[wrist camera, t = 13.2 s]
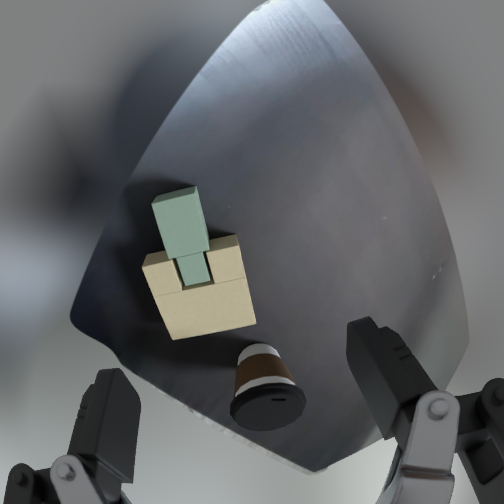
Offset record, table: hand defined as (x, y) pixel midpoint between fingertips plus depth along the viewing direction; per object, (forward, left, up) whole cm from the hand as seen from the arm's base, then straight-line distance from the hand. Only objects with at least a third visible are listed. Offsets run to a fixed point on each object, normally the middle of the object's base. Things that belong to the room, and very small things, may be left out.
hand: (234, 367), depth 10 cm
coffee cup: (+29, 0, -28) cm, 41 cm away
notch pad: (+13, -5, -28) cm, 31 cm away
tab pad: (+5, -5, -28) cm, 29 cm away
